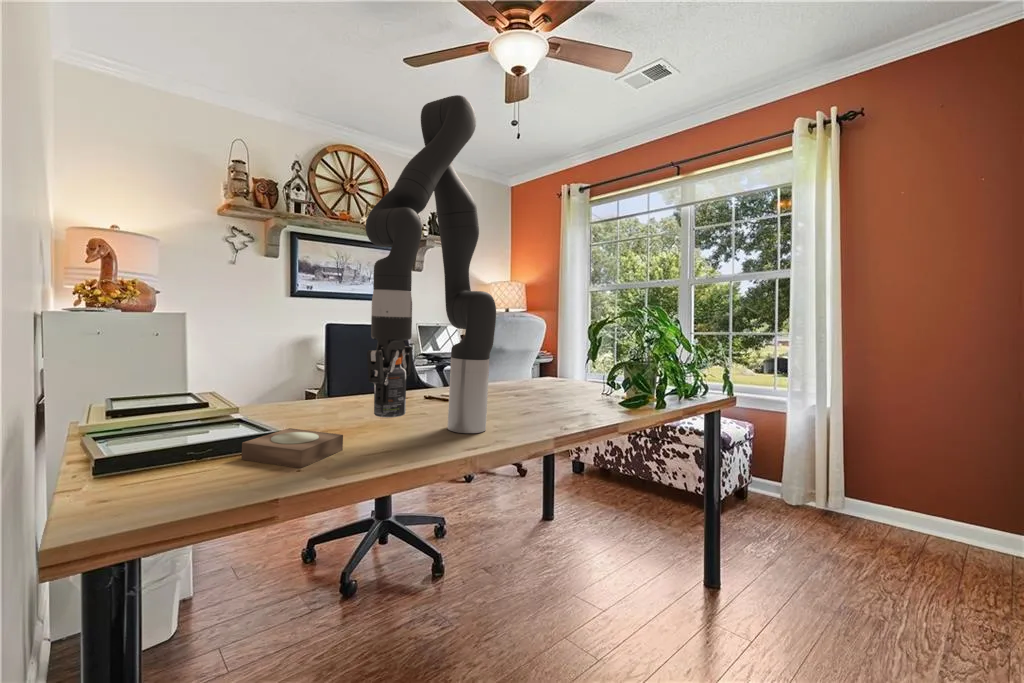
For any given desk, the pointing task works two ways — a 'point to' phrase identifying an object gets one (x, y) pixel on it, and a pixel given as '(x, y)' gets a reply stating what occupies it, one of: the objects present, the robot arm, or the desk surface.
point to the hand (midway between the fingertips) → (390, 401)
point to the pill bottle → (393, 394)
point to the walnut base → (292, 447)
